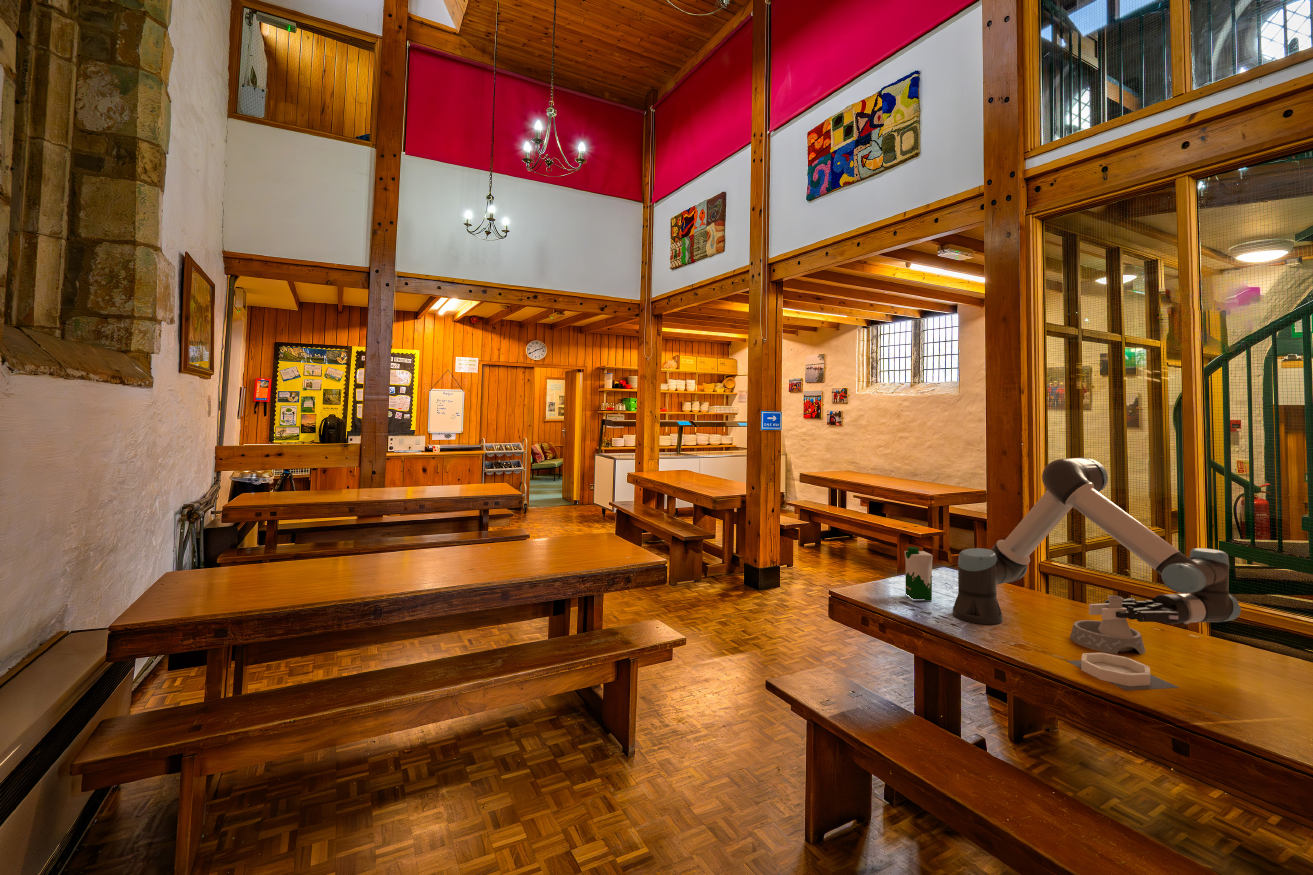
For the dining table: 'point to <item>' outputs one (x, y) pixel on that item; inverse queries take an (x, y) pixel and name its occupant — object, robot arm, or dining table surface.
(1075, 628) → the dog bowl
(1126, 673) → the bowl
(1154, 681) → the mat
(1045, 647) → the dining table surface
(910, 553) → the milk carton
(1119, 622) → the flask
